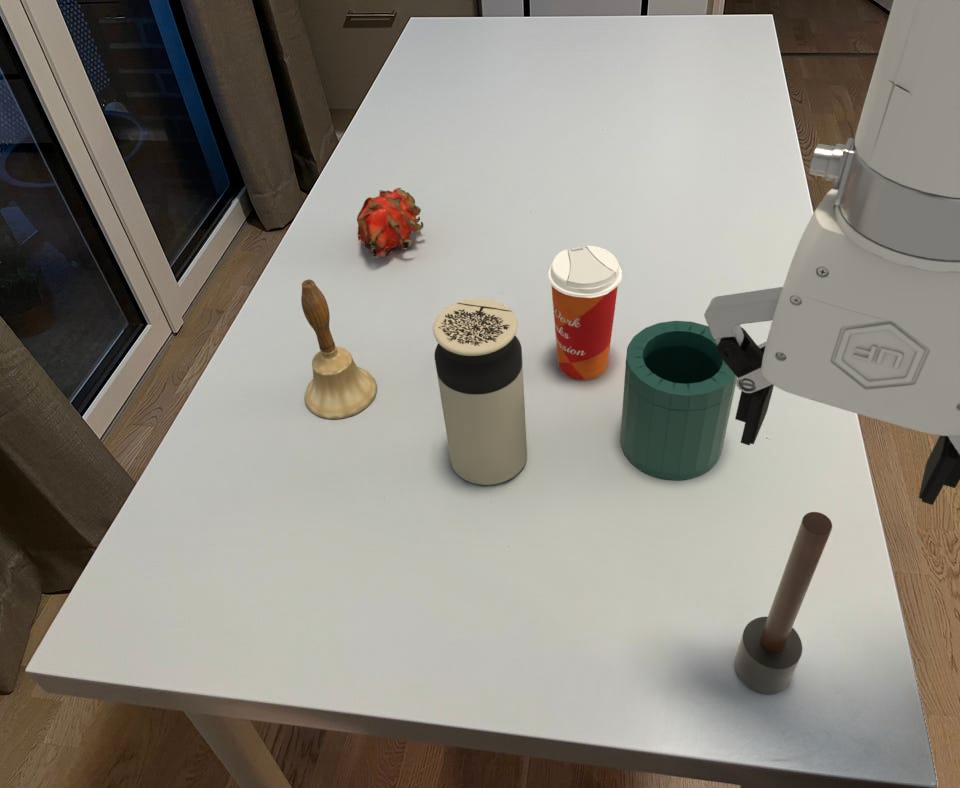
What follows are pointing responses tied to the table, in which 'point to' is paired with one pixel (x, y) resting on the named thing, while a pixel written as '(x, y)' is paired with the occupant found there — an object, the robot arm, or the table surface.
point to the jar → (675, 400)
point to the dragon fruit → (388, 221)
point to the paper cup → (584, 308)
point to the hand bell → (332, 366)
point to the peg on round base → (782, 615)
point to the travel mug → (481, 389)
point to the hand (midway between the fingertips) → (837, 455)
